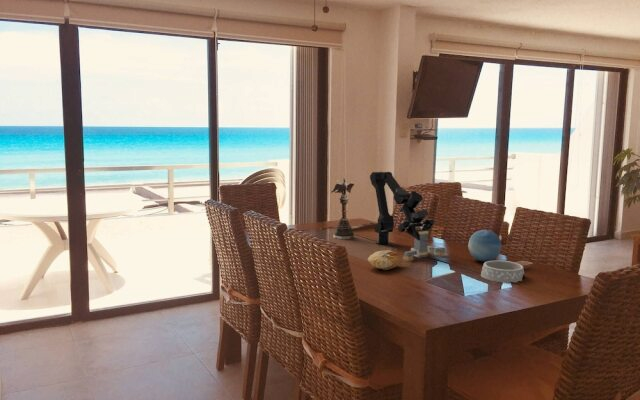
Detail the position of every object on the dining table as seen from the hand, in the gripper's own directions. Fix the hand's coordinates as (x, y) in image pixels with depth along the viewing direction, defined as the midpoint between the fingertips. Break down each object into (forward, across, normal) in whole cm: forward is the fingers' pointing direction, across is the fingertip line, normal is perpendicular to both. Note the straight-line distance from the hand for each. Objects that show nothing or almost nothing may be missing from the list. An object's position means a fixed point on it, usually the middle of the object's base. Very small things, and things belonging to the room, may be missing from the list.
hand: (423, 239), depth 267 cm
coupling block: (+5, 0, +8) cm, 9 cm away
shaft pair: (+7, 0, +6) cm, 9 cm away
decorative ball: (+20, +22, -7) cm, 30 cm away
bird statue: (-37, -12, +49) cm, 63 cm away
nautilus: (+14, -25, 0) cm, 29 cm away
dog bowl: (+36, +11, -23) cm, 44 cm away
